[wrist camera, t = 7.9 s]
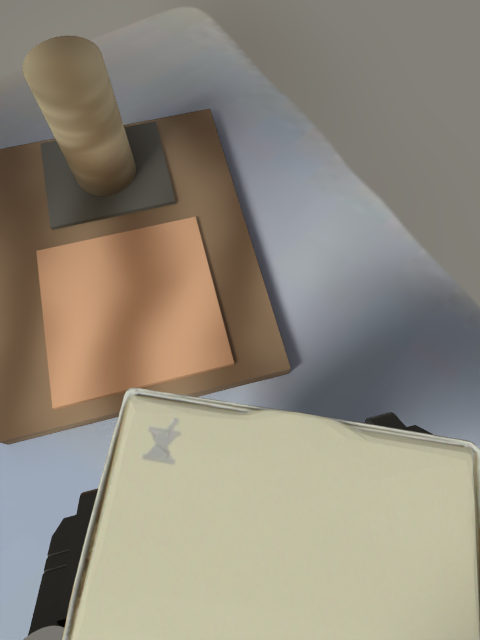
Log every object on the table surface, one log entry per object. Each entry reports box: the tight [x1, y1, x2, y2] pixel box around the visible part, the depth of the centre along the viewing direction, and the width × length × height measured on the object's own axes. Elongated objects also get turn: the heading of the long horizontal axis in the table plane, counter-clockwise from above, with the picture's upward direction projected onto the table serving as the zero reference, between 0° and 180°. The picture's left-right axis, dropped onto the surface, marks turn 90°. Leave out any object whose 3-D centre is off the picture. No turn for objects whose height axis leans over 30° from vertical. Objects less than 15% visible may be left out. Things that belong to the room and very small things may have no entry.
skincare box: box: [62, 388, 480, 640], centre depth 12 cm, size 6×4×12 cm
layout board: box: [0, 36, 291, 444], centre depth 25 cm, size 16×20×9 cm
